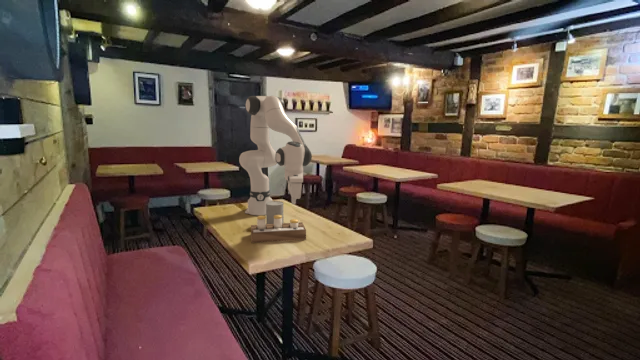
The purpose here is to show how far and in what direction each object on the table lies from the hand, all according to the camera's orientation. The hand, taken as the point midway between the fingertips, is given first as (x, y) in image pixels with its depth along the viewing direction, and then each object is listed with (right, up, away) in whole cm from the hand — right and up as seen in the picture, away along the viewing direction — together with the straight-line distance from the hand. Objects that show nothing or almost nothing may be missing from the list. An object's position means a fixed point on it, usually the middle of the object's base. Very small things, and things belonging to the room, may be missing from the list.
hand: (293, 203), depth 164 cm
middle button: (-8, -14, 0) cm, 16 cm away
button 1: (-16, -14, -1) cm, 21 cm away
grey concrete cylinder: (-12, -14, +20) cm, 27 cm away
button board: (-8, -17, +1) cm, 19 cm away
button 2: (0, -16, +3) cm, 16 cm away
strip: (-7, -13, -4) cm, 15 cm away
